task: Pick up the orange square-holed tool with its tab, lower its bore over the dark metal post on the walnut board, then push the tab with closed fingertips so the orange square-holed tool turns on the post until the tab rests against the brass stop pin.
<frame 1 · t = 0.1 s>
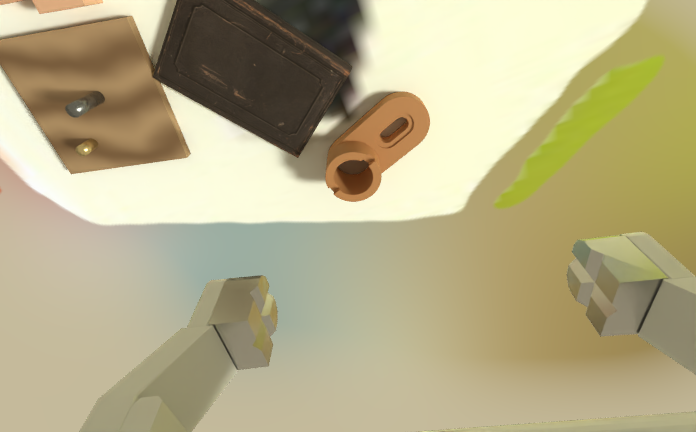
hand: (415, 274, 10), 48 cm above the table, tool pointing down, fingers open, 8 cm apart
hardcover book: (255, 68, 53), on the table
dowel: (98, 139, 59), resting on board
post: (103, 94, 55), resting on board
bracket: (375, 138, 59), on the table
board: (101, 101, 55), on the table
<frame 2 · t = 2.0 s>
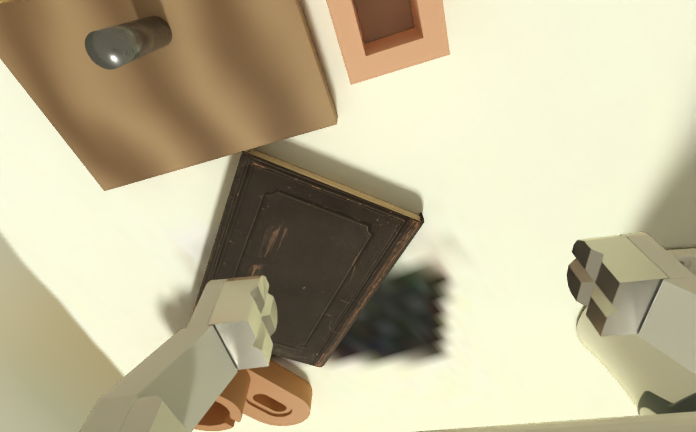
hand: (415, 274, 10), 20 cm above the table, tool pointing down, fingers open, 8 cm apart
hardcover book: (295, 266, 38), on the table
post: (167, 28, 25), resting on board
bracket: (253, 371, 48), on the table
board: (145, 16, 24), on the table
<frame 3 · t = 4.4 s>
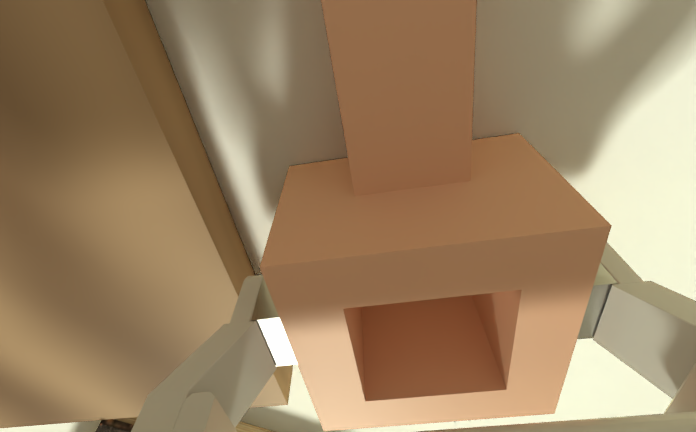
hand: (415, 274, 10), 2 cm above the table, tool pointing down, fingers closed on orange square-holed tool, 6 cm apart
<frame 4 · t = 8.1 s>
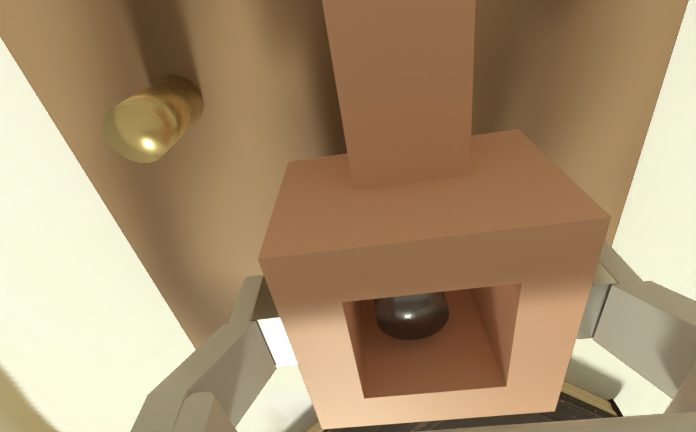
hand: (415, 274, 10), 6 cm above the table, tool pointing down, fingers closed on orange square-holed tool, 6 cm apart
hardcover book: (414, 428, 29), on the table
dowel: (194, 87, 13), resting on board
post: (386, 174, 15), resting on board
board: (359, 156, 15), on the table
when the fingers open (4 cm above the table, at t = 9.1 s): orange square-holed tool stays where it is, resting on board.
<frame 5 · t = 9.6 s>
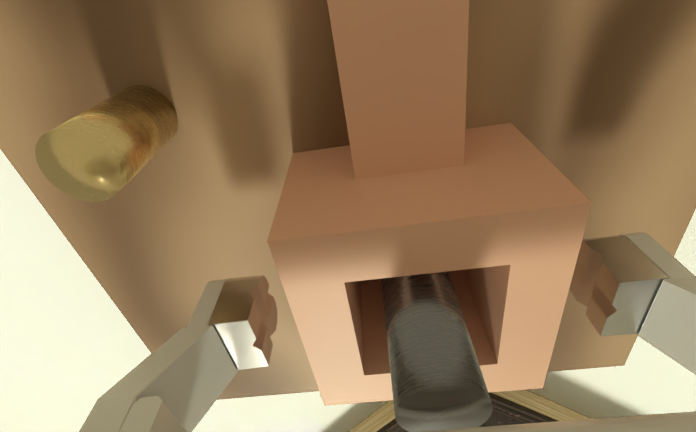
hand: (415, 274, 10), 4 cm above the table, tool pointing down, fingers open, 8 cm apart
dowel: (169, 98, 11), resting on board
post: (398, 200, 13), resting on board
board: (366, 179, 13), on the table
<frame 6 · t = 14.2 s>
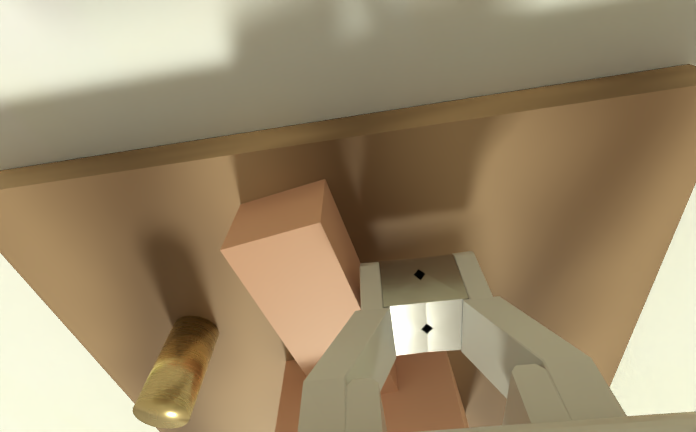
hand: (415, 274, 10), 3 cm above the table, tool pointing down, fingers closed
dowel: (209, 299, 15), resting on board
orange square-holed tool: (281, 191, 10), point 2 cm above the table, touching board, gripper
board: (360, 343, 16), on the table
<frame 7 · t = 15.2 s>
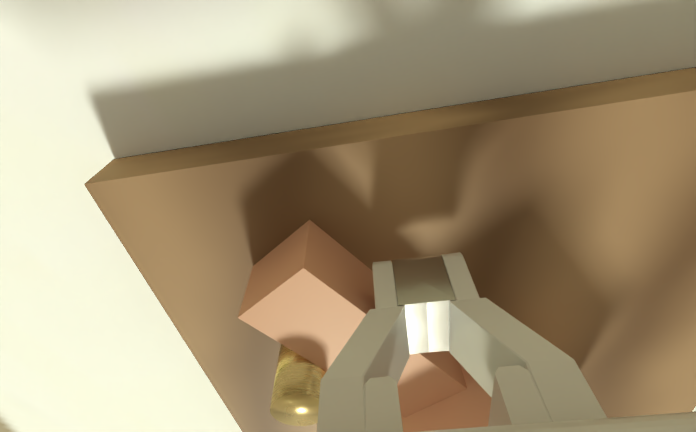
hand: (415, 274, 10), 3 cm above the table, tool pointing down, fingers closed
dowel: (310, 293, 14), resting on board
orange square-holed tool: (280, 243, 11), point 1 cm above the table, touching board, dowel, gripper
board: (455, 337, 16), on the table
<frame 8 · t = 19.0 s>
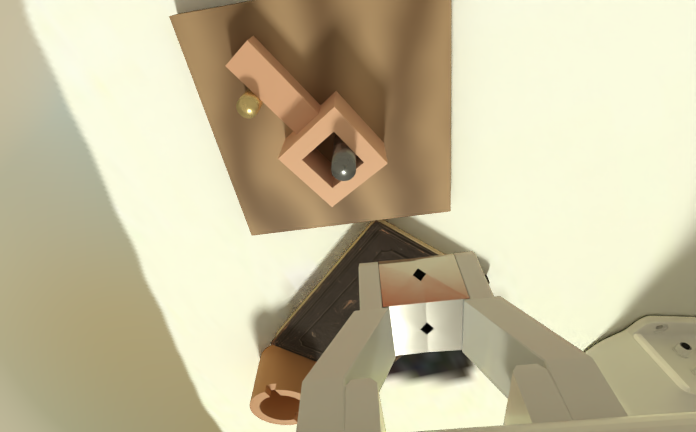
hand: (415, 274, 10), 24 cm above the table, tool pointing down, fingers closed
hardcover book: (372, 301, 46), on the table
dowel: (259, 90, 31), resting on board
post: (344, 131, 33), resting on board
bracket: (307, 376, 55), on the table
orange square-holed tool: (242, 47, 28), point 1 cm above the table, touching board
board: (331, 122, 32), on the table
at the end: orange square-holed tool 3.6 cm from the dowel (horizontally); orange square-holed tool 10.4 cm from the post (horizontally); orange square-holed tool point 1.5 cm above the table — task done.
